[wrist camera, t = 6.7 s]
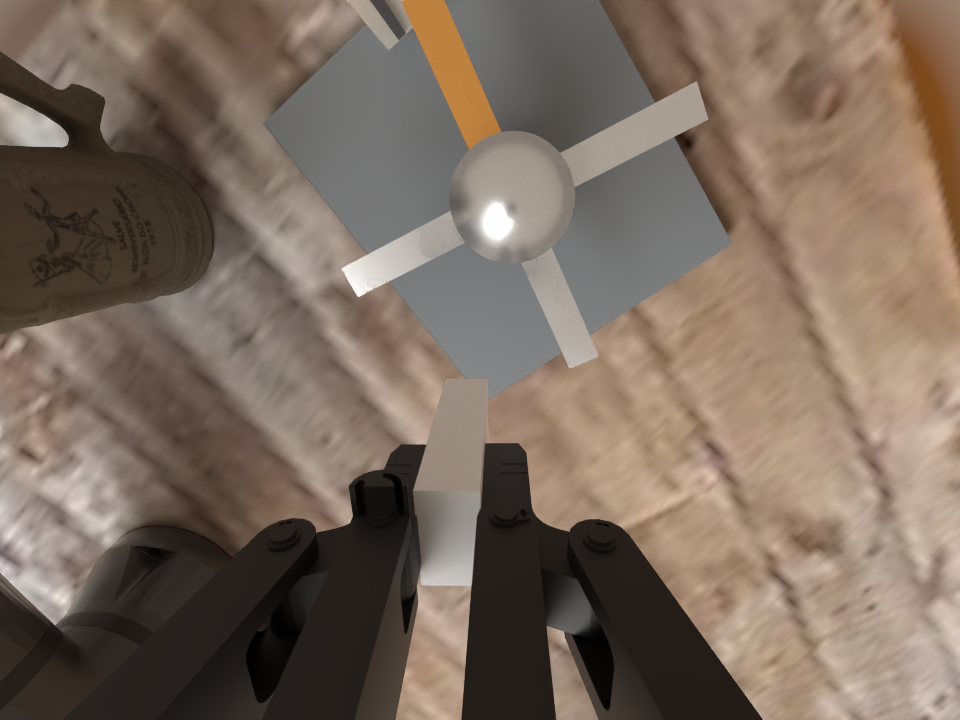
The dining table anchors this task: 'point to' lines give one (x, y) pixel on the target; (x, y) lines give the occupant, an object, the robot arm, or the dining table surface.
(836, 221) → the dining table surface
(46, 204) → the beer stein
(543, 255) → the capstan
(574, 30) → the stand
